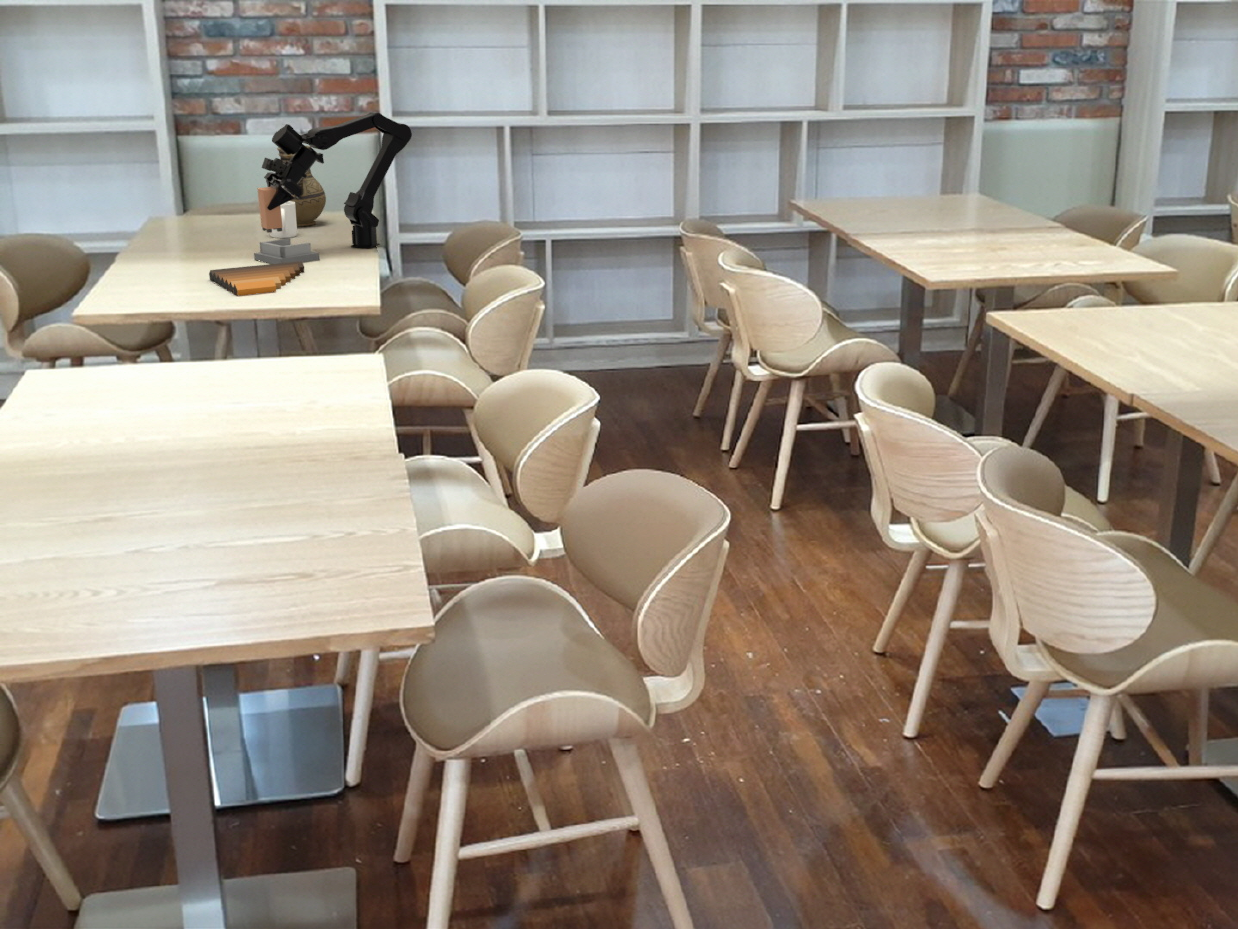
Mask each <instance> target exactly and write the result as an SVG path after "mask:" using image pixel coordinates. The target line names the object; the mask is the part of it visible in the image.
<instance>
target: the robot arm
mask: <svg viewBox="0 0 1238 929" xmlns="http://www.w3.org/2000/svg"><path fill="white" fill-rule="evenodd" d="M373 128H375V129H376V130H377V131H378V132H380V133H382V137H381V148H380V150H379V151H378V154H377V156H376V158H375V159H374V162H373V163H372V165H371V167H370V169H369V171H368V173H367V175H366V177H364V178H365V179H364V181H363V182H362V184H361V187H360V188H359V189H358V190H357V191H356V192H353V191H349V194H348V196H347V198H346V200H345V201H344V203H343V205H344V207H343V212H344V215H345V217H346V218H347V219H348V220H349V221H350V224H351V225H352V230H351V239H352V240H351V241H352V244H351V245H350V247H351V248H361V249H372V248H374V247H377V246H380V245H381V243H380V242H378V237H377V235H378V234H377V227H378V226H379V222H380V219H379V218H378V217H377V216H375V215H374V213H372V212H373V209H374V207H375V206H374V205H375V196H376V194H377V193H378V190H379V189H380V187H381V184H382V182H383V181H384V179H385V177H386V175H387V173H388V171H389V169H390V167H391V165H392V163H393V162H394V160H395V158H396V156H397V154H398V153H400V152H401V151H402V150H404V149H405V147H406V146H407V145H408V143H409V142H410V141H411V139H412V136H413V133H412V130H411V128H410V126H409V125H407V124H406V123H402V122H401V123H400V122H397V121H394V120H392V119H390V118H389V117H387V116H385V115H382V113H380V112H374V111H370V112H369V113H366V114H364V115H361V116H359V117H358V116H357V117H355V118H352V119H350V120H347V121H345V122H341V123H338V124H336V125H335V124H334V125H330V126H328V125H327V126H320V127H319V126H318V127H312V128H310V129H309V130H308V131H307V133H306V132H305V133H304V134H299V132H298V131H296V130H295V129H294V127H293V126H292V125H291V124H289V123H287V124H284V126H283V127H281V128H280V129H278V131H276V132H275V133H274V134H273V136H272V138H271V142H272V143H273V144H274V145H275V146H277V148H278V147H279V148H280V149H281V150H282V151H283V152H285V153H286V154H287V155H290V154H292V155H293V154H294V156H293V157H292V158H291V159H290V161H285V162H284V163H283V161H282V160H281V159H280V158H278V157H275V158H273V159H272V158H268V157H264V160H263V162H262V166H261V169H264V170H266V171H269V172H266V174H265V175H264V176H263V179H265V183H266V187H271V185H274V186H276V193H275V195H274V196H273V198H272V200H271V202H270V203H269V205H268V207H267V209H269V210H272V209H274V208H276V207H278V206H280V205H282V204H284V203H286V202H288V201H290V200H292V199H295V198H294V197H293V195H295V197H296V198H300V197H301V196H302V194H303V189H302V188H301V187H300V186H299V185H297V184H298V183H299V182H300V180H301V179H302V178H306V176H307V175H306V173H307V172H308V170H309V169H310V170H311V168H312V167H313V165H314V164H315V163H316V162H318V163H320V164H322V165H323V164H325V161H324V160H325V159H324V153H322V152H317V151H316V150H315V149H317V150H321V151H325V150H328V149H330V148H332V147H334V146H335V145H337V144H338V143H339V142H340V141H341V140H343V139H345V138H349V137H352V136H354V135H356V134H360V133H362V132H366V131H369V130H372V129H373ZM304 144H305V146H306V145H307V146H310V147H309V148H307V147H305V146H304Z"/></svg>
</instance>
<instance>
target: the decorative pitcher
mask: <svg viewBox="0 0 1238 929" xmlns="http://www.w3.org/2000/svg"><path fill="white" fill-rule="evenodd" d="M303 145H304V144H303ZM304 146H305V147H307V148H309V147H310V146H309V145H306V144H305V145H304ZM276 149H277V151H278V157H280V158H279V159H281V160H282V161H283V163H284V162H285V161H290V159H291V158H292V157H293V156H294V154H293V155H292V154H290V155H287V154H286V153H285V152H283V151H282V150H281V149H280V148H279V147H278V146H277V148H276ZM306 175H307V176H306V178H302V179H301V180H300V182H299V183H298V184H297V185H299V186H300V187H301V188H302V189H303V194H302V196H301V197H300V198H296V197H295V195H293V197H294V198H295V199H292V200H290V201H292V202H295V208H296V223H297V227H309V226H310V227H311V226H314V225H315V224H316V221H315V220H317V219H318V217H320V216H321V214H322V212H323V211H324V209H325V207H326V203H327V196H326V192H325V190H324V188H323V186H322V184H321V183H320V182H319V181H318V180H317V179H316V177H315V176H313V174H312V171H311V168H310V169H309V170H308V172H307V173H306Z"/></svg>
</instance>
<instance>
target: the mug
mask: <svg viewBox="0 0 1238 929" xmlns="http://www.w3.org/2000/svg"><path fill="white" fill-rule="evenodd" d="M280 207H281V217H282V227H283V228H282V231H279V232H278V231H277V229H275V230H274V229H272V232H270V234H269V235H270V237H271V238H275V239H287V238H289V239H291V238H295V237H297V235H298V226H297V223H296V208H295V202H292V201H288V202H286V203H284V204H282V205H280Z"/></svg>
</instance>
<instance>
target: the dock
mask: <svg viewBox="0 0 1238 929" xmlns="http://www.w3.org/2000/svg"><path fill="white" fill-rule="evenodd" d="M259 249H260V251H259V252H254V253H253V257H254V261H256V260H260V261H259V262H261V261H263V262H262V263H265V262H267V263H266V264H269V263H270V264H278V263H288V262H298V261H302V263H303V264H304V263H308V262H309V263H310V262H314V261H315V262H316V261H320V253H319V252H317V251H312V246H311V242H309V241H308V242H302V243H301V242H300V243H295V244H291V238H279V239H273V240H267V241H260V242H259Z"/></svg>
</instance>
